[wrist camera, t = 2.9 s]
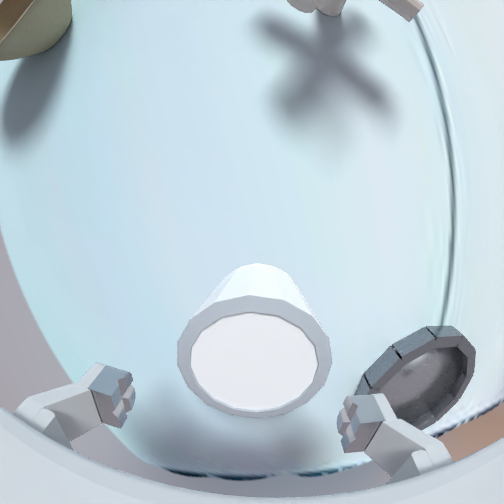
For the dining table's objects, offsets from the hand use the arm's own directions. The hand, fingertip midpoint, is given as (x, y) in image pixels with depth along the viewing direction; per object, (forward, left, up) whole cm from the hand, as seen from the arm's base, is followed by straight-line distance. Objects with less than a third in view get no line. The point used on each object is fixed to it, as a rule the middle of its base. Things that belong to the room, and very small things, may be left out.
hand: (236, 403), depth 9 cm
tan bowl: (+21, -23, -9) cm, 33 cm away
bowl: (-16, +7, -9) cm, 19 cm away
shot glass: (-1, 0, -9) cm, 9 cm away
